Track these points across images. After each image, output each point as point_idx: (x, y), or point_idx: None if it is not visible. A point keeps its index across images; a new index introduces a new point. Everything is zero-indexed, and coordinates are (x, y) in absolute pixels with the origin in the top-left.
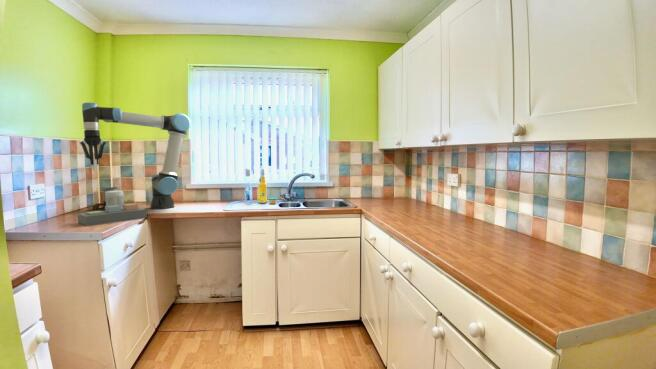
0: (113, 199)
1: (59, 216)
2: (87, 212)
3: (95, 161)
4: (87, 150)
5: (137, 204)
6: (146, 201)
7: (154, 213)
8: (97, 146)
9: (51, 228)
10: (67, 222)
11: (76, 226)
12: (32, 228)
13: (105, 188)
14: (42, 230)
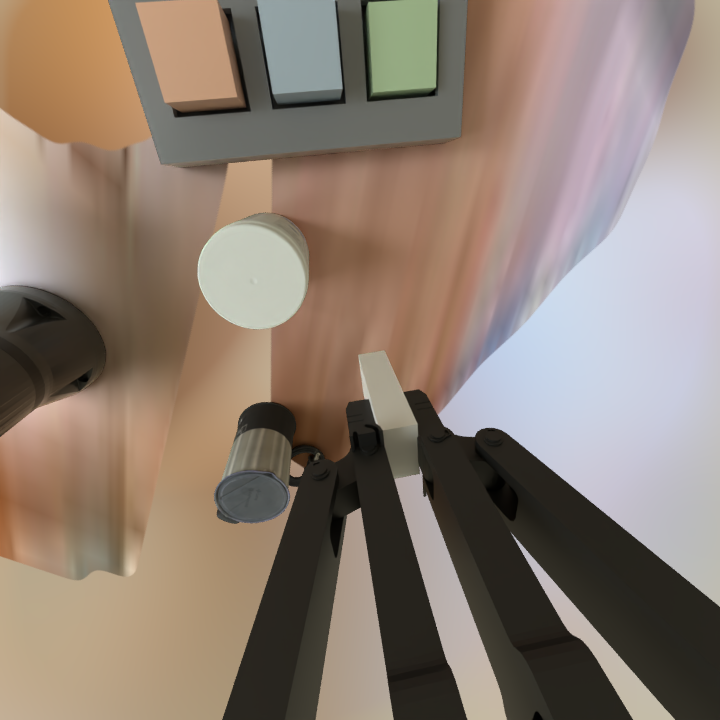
0: (273, 221)
1: (442, 381)
2: (435, 63)
3: (389, 407)
4: (581, 540)
5: (138, 3)
6: (124, 545)
7: (79, 150)
8: (404, 708)
9: (561, 63)
10: (468, 199)
11: (481, 15)
12: (595, 142)
13: (275, 489)
14: (601, 32)
